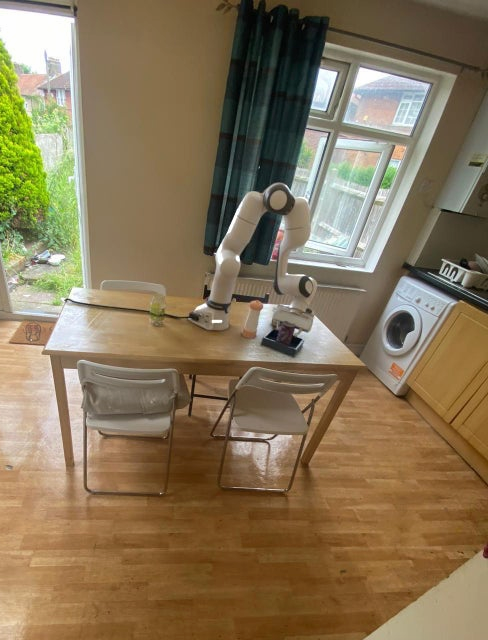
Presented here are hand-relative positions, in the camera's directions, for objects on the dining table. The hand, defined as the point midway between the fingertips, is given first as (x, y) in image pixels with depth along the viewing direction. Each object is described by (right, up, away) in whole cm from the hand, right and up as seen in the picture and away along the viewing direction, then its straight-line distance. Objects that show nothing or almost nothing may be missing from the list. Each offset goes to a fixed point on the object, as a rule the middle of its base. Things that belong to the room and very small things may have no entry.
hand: (285, 333), depth 166 cm
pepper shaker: (-17, +1, +10) cm, 19 cm away
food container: (+2, +8, +21) cm, 23 cm away
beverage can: (-1, -5, +5) cm, 7 cm away
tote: (-1, -5, +5) cm, 7 cm away
